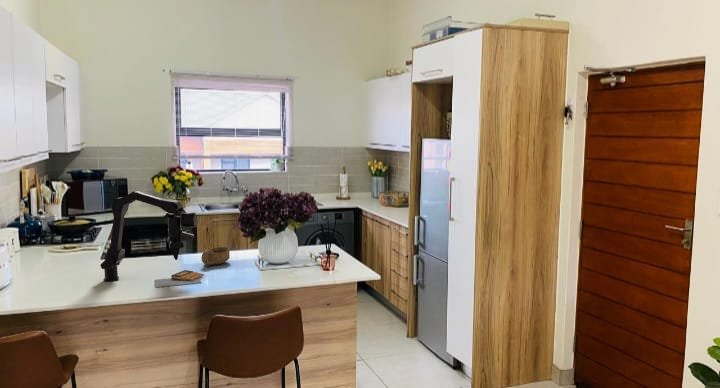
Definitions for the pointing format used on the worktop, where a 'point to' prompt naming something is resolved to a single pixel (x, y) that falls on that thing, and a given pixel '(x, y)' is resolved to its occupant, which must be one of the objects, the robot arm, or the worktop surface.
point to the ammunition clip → (186, 275)
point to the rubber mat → (174, 282)
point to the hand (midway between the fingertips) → (176, 259)
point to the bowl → (216, 255)
